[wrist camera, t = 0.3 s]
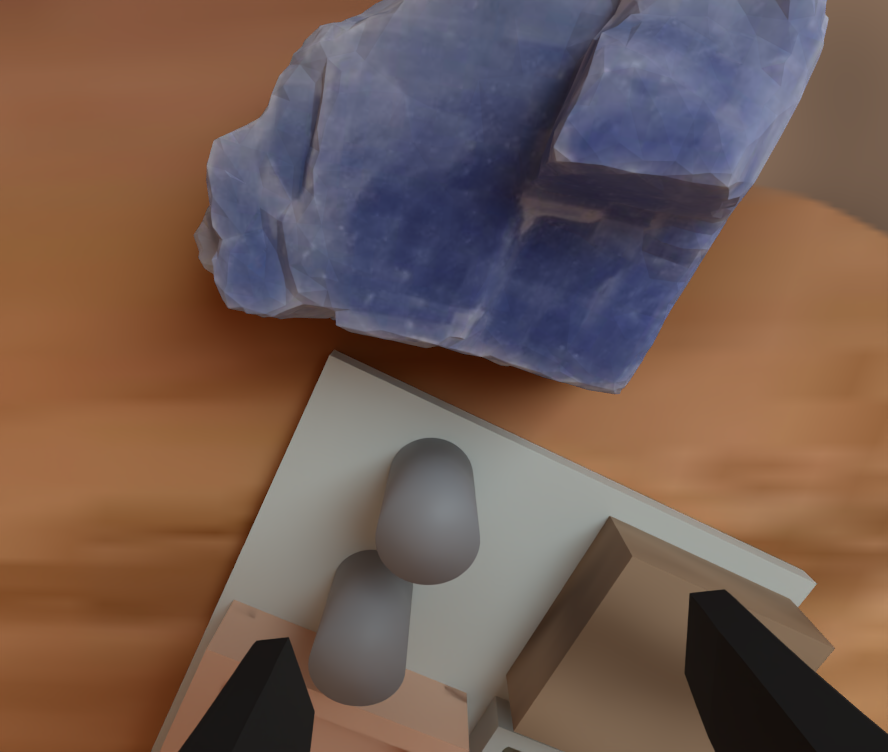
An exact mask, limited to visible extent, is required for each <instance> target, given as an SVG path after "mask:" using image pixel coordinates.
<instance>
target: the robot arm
mask: <svg viewBox="0 0 888 752" xmlns="http://www.w3.org/2000/svg"><path fill="white" fill-rule="evenodd" d="M684 674H685V676H686V679H687V682H688V685H689V687H690V690H691V693H692V696H693V698H694V701H695V704H696V707H697V709H698V712H699V715H700V717H701V720H702V722H703V725H704V728H705V730H706V733H707V735H708V738H709V740H710V742H711V744H712V746H713V748H714V750H715V752H888V734H887V733H886V732H885V731H884V730H882V729H881V728H880V727H879V726H878V725H876V724H875V723H874V722H873V721H872V720H870V719H869V718H868V717H867V716H866V715H864V714H863V713H862V712H861V711H860V710H859V709H857V708H856V707H855V706H854V705H853V704H852V703H850V702H849V701H848V700H847V699H846V698H845V697H844V696H842V695H841V694H840V693H839V692H838V691H837V690H835V689H834V688H833V687H832V686H831V685H830V684H829V683H827V682H826V681H825V680H824V679H823V678H822V677H820V676H819V675H818V674H817V673H816V672H815V671H814V670H813V669H811V668H810V667H809V666H808V665H807V664H806V663H805V662H804V661H803V660H801V659H800V658H799V657H798V656H797V655H796V654H795V653H794V652H793V651H792V650H790V649H789V648H788V647H787V646H786V645H785V644H784V643H783V642H782V641H781V640H780V639H778V638H777V637H776V636H775V635H774V634H773V633H772V632H771V631H770V630H769V629H768V628H767V627H765V626H764V625H763V624H762V623H761V622H760V621H759V620H758V619H757V618H756V617H755V616H754V615H753V614H752V613H751V612H749V611H748V610H747V609H746V608H745V607H744V606H743V605H742V604H741V603H740V602H739V601H738V600H737V599H736V598H735V597H733V596H732V595H731V594H730V593H729V592H728V591H726V590H725V589H722V590H713V591H703V592H694V593H689V609H688V625H687V640H686V656H685V671H684ZM314 715H315V711H314V708H313V705H312V702H311V699H310V696H309V693H308V690H307V688H306V685H305V682H304V679H303V676H302V673H301V670H300V667H299V665H298V662H297V659H296V656H295V653H294V650H293V647H292V644H291V642H290V639H289V637H284V638H275V639H266V640H257V641H256V642H255V643H254V644H253V645H252V646H251V648H250V649H249V651H248V652H247V654H246V655H245V656H244V658H243V659H242V661H241V662H240V664H239V665H238V667H237V668H236V670H235V671H234V673H233V674H232V675H231V677H230V678H229V680H228V681H227V683H226V684H225V686H224V687H223V689H222V690H221V692H220V693H219V694H218V696H217V697H216V699H215V700H214V702H213V703H212V705H211V706H210V707H209V709H208V710H207V712H206V713H205V715H204V716H203V718H202V719H201V720H200V722H199V723H198V725H197V726H196V727H195V729H194V730H193V732H192V733H191V734H190V736H189V737H188V739H187V740H186V741H185V743H184V744H183V745H182V747H181V748H180V750H179V751H178V752H310V749H311V741H312V732H313V723H314Z"/></svg>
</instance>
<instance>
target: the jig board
mask: <svg viewBox="0 0 888 752" xmlns="http://www.w3.org/2000/svg"><path fill="white" fill-rule="evenodd" d="M609 516H612V517H614V518H616V519H618V520H620V521H623V522H625V523H627V524H629V525H631V526H633V527H636V528H638V529H640V530H642V531H644V532H646V533H649V534H651V535H653V536H655V537H657V538H659V539H662V540H664V541H666V542H668V543H670V544H672V545H674V546H677V547H679V548H681V549H683V550H685V551H687V552H690V553H692V554H694V555H696V556H698V557H700V558H703V559H705V560H707V561H709V562H711V563H713V564H716V565H718V566H720V567H722V568H724V569H726V570H729V571H731V572H733V573H735V574H737V575H739V576H742V577H744V578H746V579H748V580H750V581H752V582H755V583H757V584H759V585H761V586H763V587H765V588H768V589H770V590H772V591H774V592H776V593H778V594H781V595H783V596H785V597H787V598H789V599H791V601H792V602H793V603H794V604H795V605H796V606H797V607H799V605H800V604H801V603H802V602H803V600H804V599H805V598H806V597H807V595H808V594H809V593H810V592H811V590H812V589H813V588H814V587H815V585H816V583H815V582H814V581H813V580H812V579H811V578H810V577H809V576H808V575H807V574H806V573H805V572H804V571H803V570H801V569H799V568H797V567H794V566H792V565H790V564H788V563H786V562H784V561H782V560H780V559H777V558H775V557H773V556H771V555H769V554H767V553H765V552H763V551H761V550H758V549H756V548H754V547H752V546H750V545H748V544H746V543H744V542H741V541H739V540H737V539H735V538H733V537H731V536H729V535H727V534H724V533H722V532H720V531H718V530H716V529H714V528H712V527H710V526H707V525H705V524H703V523H701V522H699V521H697V520H695V519H693V518H691V517H688V516H686V515H684V514H682V513H680V512H678V511H676V510H674V509H671V508H669V507H667V506H665V505H663V504H661V503H659V502H657V501H654V500H652V499H650V498H648V497H646V496H644V495H642V494H640V493H637V492H635V491H633V490H631V489H629V488H627V487H625V486H623V485H620V484H618V483H616V482H614V481H612V480H610V479H608V478H606V477H604V476H601V475H599V474H597V473H595V472H593V471H591V470H589V469H587V468H584V467H582V466H580V465H578V464H576V463H574V462H572V461H570V460H567V459H565V458H563V457H561V456H559V455H557V454H555V453H553V452H550V451H548V450H546V449H544V448H542V447H540V446H538V445H536V444H533V443H531V442H529V441H527V440H525V439H523V438H521V437H519V436H517V435H514V434H512V433H510V432H508V431H506V430H504V429H502V428H500V427H497V426H495V425H493V424H491V423H489V422H487V421H485V420H483V419H480V418H478V417H476V416H474V415H472V414H470V413H468V412H466V411H463V410H461V409H459V408H457V407H455V406H453V405H451V404H449V403H446V402H444V401H442V400H440V399H438V398H436V397H434V396H432V395H430V394H427V393H425V392H423V391H421V390H419V389H417V388H415V387H413V386H410V385H408V384H406V383H404V382H402V381H400V380H398V379H396V378H393V377H391V376H389V375H387V374H385V373H383V372H381V371H379V370H376V369H374V368H372V367H370V366H368V365H366V364H364V363H362V362H359V361H357V360H355V359H353V358H351V357H349V356H347V355H345V354H343V353H340V352H338V351H336V350H333V352H332V353H331V354H330V355H329V357H328V360H327V362H326V364H325V366H324V368H323V371H322V373H321V375H320V377H319V380H318V382H317V384H316V386H315V388H314V391H313V393H312V395H311V397H310V400H309V402H308V404H307V406H306V408H305V411H304V413H303V415H302V417H301V419H300V422H299V424H298V426H297V428H296V431H295V433H294V435H293V437H292V439H291V442H290V444H289V446H288V448H287V451H286V453H285V455H284V457H283V459H282V462H281V464H280V466H279V468H278V471H277V473H276V475H275V477H274V479H273V482H272V484H271V486H270V488H269V491H268V493H267V495H266V497H265V499H264V502H263V504H262V506H261V508H260V510H259V513H258V515H257V517H256V519H255V522H254V524H253V526H252V528H251V530H250V533H249V535H248V537H247V539H246V542H245V544H244V546H243V548H242V550H241V553H240V555H239V557H238V559H237V562H236V564H235V566H234V568H233V570H232V573H231V575H230V577H229V579H228V582H227V584H226V586H225V588H224V590H223V593H222V595H221V597H220V599H219V602H218V604H217V606H216V608H215V610H214V613H213V615H212V617H211V619H210V621H209V624H208V626H207V628H206V630H205V633H204V635H203V637H202V639H201V641H200V644H199V646H198V648H197V650H196V653H195V655H194V657H193V659H192V661H191V664H190V666H189V668H188V670H187V673H186V675H185V677H184V679H183V681H182V684H181V686H180V688H179V690H178V693H177V695H176V697H175V699H174V701H173V704H172V706H171V708H170V710H169V712H168V715H167V717H166V719H165V721H164V724H163V726H162V728H161V730H160V732H159V735H158V737H157V739H156V741H155V744H154V746H153V748H152V750H151V752H160V749H161V747H162V745H163V743H164V741H165V739H166V736H167V734H168V732H169V730H170V728H171V725H172V723H173V721H174V719H175V717H176V714H177V712H178V710H179V708H180V706H181V703H182V701H183V699H184V697H185V695H186V693H187V690H188V688H189V686H190V684H191V682H192V679H193V677H194V675H195V673H196V671H197V668H198V666H199V664H200V662H201V660H202V657H203V655H204V653H205V651H206V649H207V647H208V645H209V643H210V642H211V640H212V638H213V636H214V634H215V633H216V631H217V629H218V627H219V625H220V624H221V622H222V620H223V618H224V616H225V615H226V613H227V611H228V609H229V608H230V606H231V604H232V602H233V600H236V601H239V602H241V603H244V604H246V605H249V606H251V607H254V608H256V609H259V610H261V611H264V612H266V613H269V614H271V615H274V616H276V617H279V618H281V619H284V620H286V621H289V622H291V623H294V624H296V625H299V626H301V627H304V628H306V629H309V630H311V631H314V632H316V637H315V640H314V643H313V646H312V649H311V653H310V656H309V661H308V669H309V674H310V677H311V679H312V681H313V683H314V685H315V686H316V687H317V688H318V690H319V691H320V692H321V693H323V694H324V695H325V696H326V697H328V698H330V699H331V700H333V701H336V702H338V703H341V704H344V705H349V706H369V705H374V704H377V703H380V702H382V701H384V700H386V699H388V698H389V697H391V696H392V695H393V694H394V693H395V692H396V691H397V690H398V689H399V687H400V686H401V684H402V682H403V680H404V676H405V670H406V669H408V670H411V671H413V672H416V673H418V674H421V675H423V676H426V677H428V678H431V679H433V680H436V681H438V682H441V683H443V684H446V685H448V686H451V687H453V688H456V689H458V690H460V691H463V692H465V693H467V711H468V733H469V752H502V751H503V749H505V748H507V747H511V748H513V749H516V750H519V751H521V752H564V751H561V750H559V749H556V748H554V747H551V746H549V745H546V744H544V743H541V742H539V741H536V740H534V739H531V738H529V737H526V736H524V735H521V734H519V733H516V732H514V731H513V724H512V717H511V709H510V702H509V694H508V687H507V679H506V674H507V673H508V671H509V670H510V668H511V667H512V665H513V663H514V662H515V660H516V659H517V657H518V656H519V654H520V653H521V651H522V650H523V648H524V647H525V645H526V644H527V642H528V640H529V639H530V637H531V636H532V634H533V633H534V631H535V630H536V628H537V627H538V625H539V624H540V622H541V621H542V619H543V617H544V616H545V614H546V613H547V611H548V610H549V608H550V607H551V605H552V604H553V602H554V601H555V599H556V597H557V596H558V594H559V593H560V591H561V590H562V588H563V587H564V585H565V584H566V582H567V581H568V579H569V578H570V576H571V574H572V573H573V571H574V570H575V568H576V567H577V565H578V564H579V562H580V561H581V559H582V558H583V556H584V554H585V553H586V551H587V550H588V548H589V547H590V545H591V544H592V542H593V541H594V539H595V538H596V536H597V535H598V533H599V531H600V530H601V528H602V527H603V525H604V524H605V522H606V521H607V519H608V518H609Z"/></svg>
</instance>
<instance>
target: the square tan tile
mask: <svg viewBox="0 0 888 752" xmlns="http://www.w3.org/2000/svg"><path fill="white" fill-rule="evenodd" d="M722 589H725V590H726V591H728V592H729V593H730V594H731V595H732V596H733V597H735V598H736V599H737V600H738V601H739V602H740V603H741V604H742V605H743V606H744V607H745V608H746V609H747V610H748V611H749V612H751V613H752V614H753V615H754V616H755V617H756V618H757V619H758V620H759V621H760V622H761V623H762V624H763V625H764V626H765V627H767V628H768V629H769V630H770V631H771V632H772V633H773V634H774V635H775V636H776V637H777V638H778V639H780V640H781V641H782V642H783V643H784V644H785V645H786V646H787V647H788V648H789V649H790V650H792V651H793V652H794V653H795V654H796V655H797V656H798V657H799V658H800V659H801V660H803V661H804V662H805V663H806V664H807V665H808V666H809V667H810V668H811V669H813V670H814V671H815V672H816V671H817V669H818V668H819V667H820V666H821V665H822V663H823V662H824V661H825V660H826V659H827V657H828V656H829V655H830V654H831V653H832V652H833V650H834V649H835V648H834V647H833V645H832V644H831V643H830V642H829V641H828V640H827V639H826V638H825V637H824V636H823V635H822V633H821V632H820V631H819V630H818V629H817V628H816V627H815V626H814V625H813V624H812V622H811V621H810V620H809V619H808V618H807V617H806V616H805V615H804V614H803V613H802V611H801V610H800V609H799V608H798V607H797V606H796V605H795V604H794V603H793V602H792V601H791V599H789V598H787V597H785V596H783V595H781V594H778V593H776V592H774V591H772V590H770V589H768V588H765V587H763V586H761V585H759V584H757V583H755V582H752V581H750V580H748V579H746V578H744V577H742V576H739V575H737V574H735V573H733V572H731V571H729V570H726V569H724V568H722V567H720V566H718V565H716V564H713V563H711V562H709V561H707V560H705V559H703V558H700V557H698V556H696V555H694V554H692V553H690V552H687V551H685V550H683V549H681V548H679V547H677V546H674V545H672V544H670V543H668V542H666V541H664V540H662V539H659V538H657V537H655V536H653V535H651V534H649V533H646V532H644V531H642V530H640V529H638V528H636V527H633V526H631V525H629V524H627V523H625V522H623V521H620V520H618V519H616V518H614V517H612V516H609V518H608V519H607V521H606V522H605V524H604V525H603V527H602V528H601V530H600V531H599V533H598V535H597V536H596V538H595V539H594V541H593V542H592V544H591V545H590V547H589V548H588V550H587V551H586V553H585V554H584V556H583V558H582V559H581V561H580V562H579V564H578V565H577V567H576V568H575V570H574V571H573V573H572V574H571V576H570V578H569V579H568V581H567V582H566V584H565V585H564V587H563V588H562V590H561V591H560V593H559V594H558V596H557V597H556V599H555V601H554V602H553V604H552V605H551V607H550V608H549V610H548V611H547V613H546V614H545V616H544V617H543V619H542V621H541V622H540V624H539V625H538V627H537V628H536V630H535V631H534V633H533V634H532V636H531V637H530V639H529V640H528V642H527V644H526V645H525V647H524V648H523V650H522V651H521V653H520V654H519V656H518V657H517V659H516V660H515V662H514V663H513V665H512V667H511V668H510V670H509V671H508V673H507V674H506V679H507V687H508V694H509V702H510V709H511V717H512V724H513V731H514V732H516V733H519V734H521V735H524V736H526V737H529V738H531V739H534V740H536V741H539V742H541V743H544V744H546V745H549V746H551V747H554V748H556V749H559V750H561V751H564V752H715V750H714V748H713V746H712V744H711V742H710V740H709V738H708V735H707V733H706V730H705V728H704V725H703V722H702V720H701V717H700V715H699V712H698V709H697V707H696V704H695V701H694V698H693V696H692V693H691V690H690V687H689V685H688V682H687V679H686V676H685V674H684V671H685V656H686V640H687V625H688V609H689V593H694V592H703V591H713V590H722Z"/></svg>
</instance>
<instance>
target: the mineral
mask: <svg viewBox="0 0 888 752" xmlns="http://www.w3.org/2000/svg"><path fill="white" fill-rule="evenodd" d="M826 1H827V0H383V1H381V2H379V3H376V4H375V5H373V6H372V7H370V8H369V9H368V10H366V11H365V12H363V13H362V14H360V15H358V16H355V17H352V18H349V19H346V20H344V21H342V22H338V23H330V24H325V25H321V26H320V27H319V28H318V29H316V30H315V31H314V32H313V33H312V34H311V35H310V36H309V37H308V38H307V39H306V40H305V41H304V43H303V46H302V47H301V48H300V49H299V50H298V51H297V52H295V53H294V54H293V57H292V60H291V62H290V65H289V66H288V67H287V68H286V69H285V70H284V71H283V73H282V74H281V75H280V76H279V78H278V80H277V83H276V85H275V87H274V90H273V92H272V95H271V98H270V101H269V104H268V107H267V108H266V109H265V111H264V112H263V114H262V115H261V117H260V118H258V119H257V120H255V121H253V122H251V123H249V124H248V125H246V126H244V127H241V128H239V129H237V130H235V131H233V132H231V133H229V134H226V135H224V136H222V137H220V138H218V139H216V140H214V142H213V145H212V149H211V153H210V156H209V160H208V162H207V178H206V181H207V188H208V195H209V202H210V206H209V207H208V208H207V211H206V213H205V216H204V218H203V221H202V223H201V224H200V226H199V227H198V229H197V230H196V232H195V234H194V238H195V241H196V244H197V246H198V249H199V257H198V258H199V260H200V261H201V263H202V264H203V267H204V268H205V269H206V270H208V271H209V272H211V273H212V274H214V281H215V284H216V286H217V288H218V290H219V293H220V295H221V297H222V299H223V301H224V302H225V304H226V305H227V307H228V308H229V309H233V310H239V311H245V312H246V313H247V314H256V315H258V316H261V317H275V318H279V319H285V318H331V319H332V320H336V325H337V326H339V327H341V328H343V329H345V330H347V331H349V332H352V333H357V334H362V335H367V336H372V337H377V338H382V339H386V340H393V341H397V342H401V343H405V344H410V345H414V346H419V347H424V348H430V347H435V346H440V347H443V348H446V349H450V350H453V351H456V352H459V353H462V354H466V355H473V356H479V357H484V358H486V359H488V360H490V361H492V362H494V363H497V364H499V365H503V366H513V367H516V368H519V369H522V370H524V371H527V372H530V373H533V374H536V375H538V376H541V377H544V378H548V379H551V380H555V381H559V382H563V383H567V384H570V385H574V386H577V387H580V388H584V389H587V390H591V391H598V392H605V393H611V394H620V392H621V390H622V389H623V388H624V387H625V386H626V385H627V383H628V382H629V381H630V379H631V378H632V376H633V375H634V373H635V372H636V370H637V368H638V366H639V365H640V364H641V362H642V361H643V358H644V356H645V355H646V353H647V351H648V350H649V349H650V347H651V346H652V344H653V342H654V340H655V339H656V337H657V335H658V333H659V331H660V329H661V327H662V325H663V323H664V320H665V319H666V317H667V315H668V314H669V312H670V310H671V309H672V307H673V306H674V304H675V302H676V301H677V299H678V298H679V296H680V295H681V293H682V292H683V290H684V288H685V287H686V285H687V284H688V282H689V281H690V279H691V277H692V276H693V274H694V272H695V271H696V269H697V267H698V266H699V264H700V262H701V261H702V259H703V258H704V256H705V255H706V253H707V251H708V250H709V248H710V247H711V245H712V243H713V242H714V240H715V239H716V237H717V236H718V234H719V232H720V231H721V229H722V228H723V226H724V225H725V223H726V221H727V219H728V217H729V216H730V214H731V213H732V212H733V210H734V209H735V207H736V206H737V205H738V203H739V202H740V201H741V199H742V198H743V197H744V196H745V194H746V193H747V192H748V190H749V189H750V188H751V187H752V185H753V184H754V182H755V181H756V179H757V177H758V175H759V174H760V172H761V170H762V168H763V166H764V164H765V163H766V161H767V160H768V158H769V156H770V154H771V152H772V151H773V149H774V147H775V145H776V144H777V142H778V140H779V138H780V137H781V135H782V133H783V131H784V129H785V127H786V126H787V124H788V122H789V120H790V118H791V116H792V114H793V112H794V111H795V109H796V107H797V105H798V103H799V101H800V99H801V97H802V94H803V92H804V90H805V87H806V85H807V83H808V81H809V78H810V76H811V74H812V72H813V70H814V67H815V65H816V63H817V61H818V59H819V56H820V54H821V51H822V48H823V45H824V41H823V40H824V36H825V32H826V28H827V23H828V17H827V16H826V15H825V9H826Z"/></svg>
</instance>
